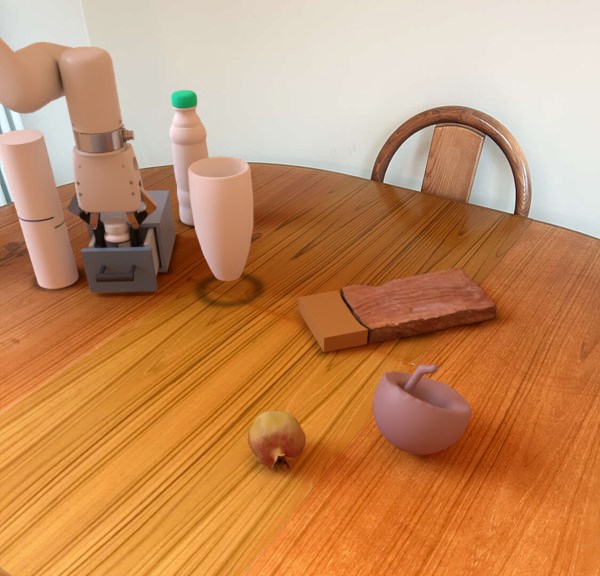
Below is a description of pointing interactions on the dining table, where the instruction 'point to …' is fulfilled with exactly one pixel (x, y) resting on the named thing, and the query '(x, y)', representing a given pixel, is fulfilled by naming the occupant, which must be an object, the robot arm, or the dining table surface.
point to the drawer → (123, 265)
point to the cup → (222, 213)
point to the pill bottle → (117, 233)
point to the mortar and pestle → (419, 411)
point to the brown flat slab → (395, 309)
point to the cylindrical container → (38, 207)
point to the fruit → (276, 439)
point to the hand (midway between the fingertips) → (120, 246)
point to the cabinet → (154, 225)
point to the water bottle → (186, 146)
